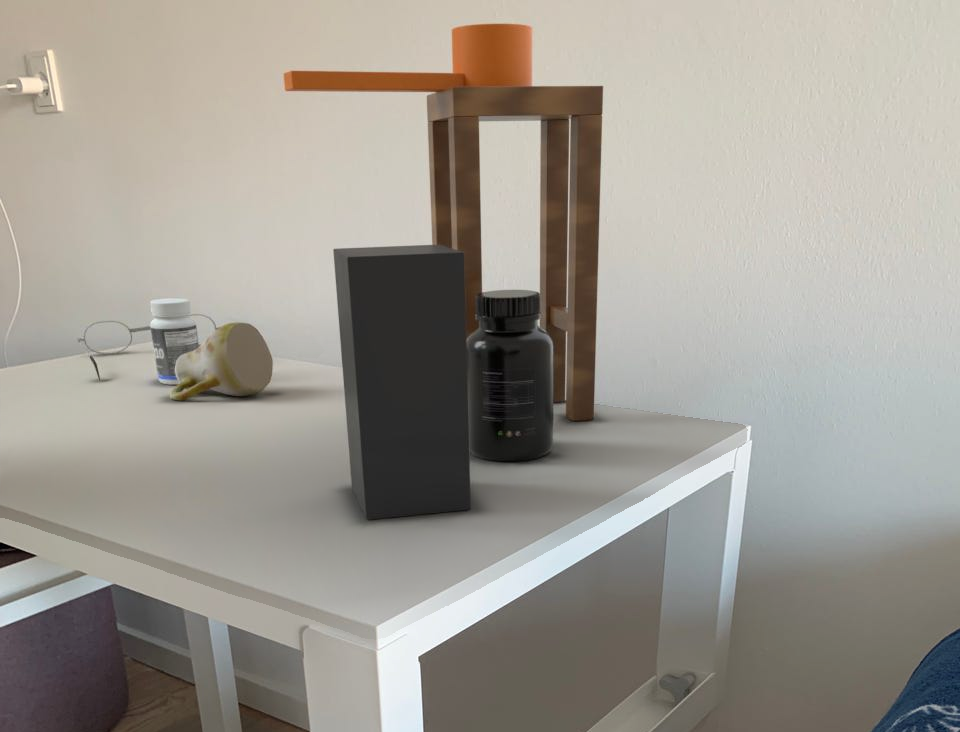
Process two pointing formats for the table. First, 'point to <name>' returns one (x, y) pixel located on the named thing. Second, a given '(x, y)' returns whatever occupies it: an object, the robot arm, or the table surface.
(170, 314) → the pill bottle
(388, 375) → the charcoal tower block
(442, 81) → the measuring cup
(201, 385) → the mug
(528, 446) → the supplement bottle
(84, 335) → the eyeglasses
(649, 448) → the table surface
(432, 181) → the tall stand
